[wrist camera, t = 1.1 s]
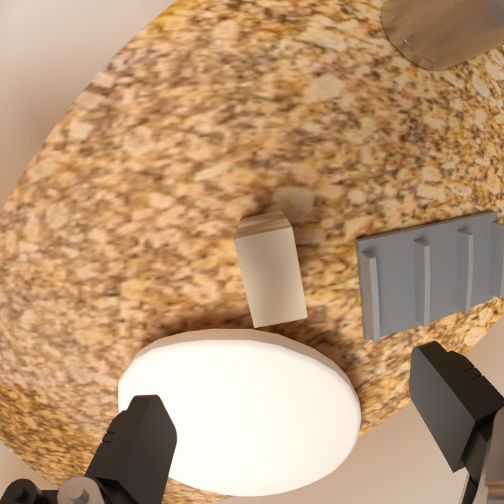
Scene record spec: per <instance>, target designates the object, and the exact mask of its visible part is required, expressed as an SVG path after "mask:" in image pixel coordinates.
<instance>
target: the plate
mask: <svg viewBox="0 0 504 504" xmlns="http://www.w3.org/2000/svg"><path fill="white" fill-rule="evenodd" d="M155 394H156V395H158V396H159V397H160V398H161V400H162V402H163V404H164V406H165V408H166V410H167V412H168V414H169V416H170V418H171V420H172V422H173V424H174V426H175V428H176V431H177V445H176V449H175V452H174V456H173V460H172V464H171V467H170V471H169V475H168V476H169V477H170V478H172V479H174V480H177V481H179V482H181V483H184V484H186V485H189V486H191V487H194V488H198V489H202V490H206V491H210V492H214V493H219V494H225V495H234V496H263V495H271V494H277V493H283V492H287V491H290V490H293V489H297V488H300V487H303V486H305V485H308V484H310V483H312V482H315V481H317V480H319V479H321V478H322V477H324V476H326V475H327V474H329V473H331V472H333V471H334V470H335V469H336V468H337V467H338V466H339V465H340V464H341V463H342V462H343V461H344V460H345V459H346V457H348V455H349V454H350V453H351V450H352V449H353V447H354V446H355V444H356V441H357V437H358V433H359V428H360V424H361V409H360V401H359V399H358V396H357V394H356V392H355V390H354V388H353V386H352V384H351V382H350V380H349V378H348V376H347V375H346V374H345V373H344V372H343V371H342V370H341V369H340V368H339V367H338V366H337V365H336V363H335V362H333V361H332V360H331V359H329V358H328V357H326V356H324V355H323V354H321V353H320V352H318V351H317V350H315V349H313V348H312V347H310V346H307V345H305V344H302V343H299V342H297V341H294V340H292V339H289V338H287V337H284V336H282V335H279V334H275V333H270V332H264V331H259V330H254V329H206V330H198V331H188V332H184V333H180V334H176V335H172V336H168V337H164V338H160V339H158V340H155V341H154V342H152V343H151V344H149V345H147V346H146V347H144V348H143V349H141V350H139V351H138V352H137V354H136V355H135V357H134V358H133V359H132V361H131V362H130V364H129V365H128V366H127V368H126V369H125V371H124V372H123V374H122V375H121V376H120V379H119V413H120V412H121V411H122V410H127V408H128V406H129V404H130V402H131V400H132V398H133V397H134V396H135V395H155Z"/></svg>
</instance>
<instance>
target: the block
mask: <svg viewBox="0 0 504 504" xmlns="http://www.w3.org/2000/svg"><path fill="white" fill-rule="evenodd" d="M234 243H235V248H236V252H237V256H238V261H239V265H240V269H241V274H242V278H243V282H244V287H245V291H246V295H247V299H248V304H249V308H250V312H251V316H252V321H253V325H254V328H257V327H263V326H268V325H273V324H279V323H284V322H289V321H294V320H299V319H304V318H307V311H306V305H305V299H304V292H303V286H302V280H301V274H300V268H299V262H298V257H297V251H296V245H295V240H294V234H293V229H292V226H291V224H290V223H289V221H288V220H287V218H286V217H285V215H284V214H283V212H282V210H281V211H276V212H271V213H266V214H261V215H256V216H251V217H246V218H241V219H240V222H239V224H238V227H237V230H236V233H235V236H234Z"/></svg>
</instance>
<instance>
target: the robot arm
mask: <svg viewBox="0 0 504 504" xmlns="http://www.w3.org/2000/svg"><path fill="white" fill-rule="evenodd" d="M381 21H382V25H383V28H384V30H385V32H386V34H387V36H388V38H389V39H390V41H391V42H392V44H393V45H394V46H395V47H396V48H397V50H398V51H399V52H400V53H401V54H402V55H404V56H405V57H406V58H407V59H408V60H410V61H412V62H413V63H415V64H416V65H418V66H421V67H423V68H425V69H429V70H433V71H441V70H445V69H448V68H450V67H452V66H454V65H457V64H459V63H461V62H463V61H466V60H468V59H471V58H473V57H475V56H477V55H480V54H482V53H485V52H487V51H489V50H492V49H494V48H497V47H499V46H502V45H504V0H386V1H385V3H384V5H383V6H382V10H381ZM409 391H410V396H411V399H412V401H413V403H414V405H415V407H416V408H417V410H418V411H419V413H420V414H421V417H422V418H423V420H424V422H425V423H426V425H427V427H428V429H429V430H430V432H431V434H432V435H433V437H434V439H435V441H436V443H437V444H438V446H439V448H440V450H441V451H442V453H443V455H444V457H445V459H446V460H447V462H448V464H449V466H450V468H451V470H452V471H453V473H454V472H456V471H458V470H460V469H462V468H464V467H466V469H467V471H468V472H469V473H468V475H467V477H466V481H465V484H464V488H463V492H462V495H461V498H460V502H459V504H504V397H503V396H502V395H501V394H500V393H499V392H498V391H497V390H496V389H495V387H494V386H493V385H492V384H491V383H490V382H489V381H488V380H487V379H486V378H485V377H484V376H482V375H481V373H480V371H479V370H478V369H477V368H474V365H473V364H472V363H471V362H470V361H469V360H468V359H467V358H466V357H465V356H463V355H461V354H459V353H457V352H454V351H449V352H447V351H446V350H445V349H444V348H443V347H442V346H441V345H440V344H439V343H438V342H437V341H432V342H429V343H426V344H423V345H421V346H418V347H415V348H413V350H412V356H411V369H410V380H409ZM176 445H177V431H176V428H175V426H174V424H173V422H172V420H171V418H170V416H169V414H168V412H167V410H166V408H165V406H164V404H163V402H162V400H161V398H160V397H159V396H158V395H156V394H155V395H135V396H134V397H133V398H132V400H131V402H130V404H129V406H128V408H127V410H122V411H121V412H120V413H119V414H118V415H117V416H116V417H115V418H114V419H113V420H112V422H111V424H110V426H109V428H108V430H107V434H105V435H104V437H103V439H102V443H100V445H99V447H98V449H97V451H96V453H95V455H94V457H93V459H92V461H91V463H90V465H89V467H88V469H87V471H86V473H85V475H84V477H75V478H72V479H70V480H68V481H67V482H65V483H64V484H63V485H62V486H61V488H60V490H40V489H39V488H38V487H37V486H36V485H35V484H34V483H33V482H32V481H30V480H28V479H18V480H16V481H14V482H12V483H11V484H10V485H9V486H8V487H7V489H6V491H5V493H4V494H3V496H2V498H1V500H0V504H161V502H162V498H163V494H164V490H165V487H166V483H167V479H168V475H169V471H170V467H171V464H172V460H173V456H174V452H175V449H176Z"/></svg>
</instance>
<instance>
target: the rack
mask: <svg viewBox="0 0 504 504" xmlns="http://www.w3.org/2000/svg"><path fill="white" fill-rule="evenodd" d="M355 244H356V252H357V261H358V271H359V281H360V293H361V306H362V321H363V336H364V338H365V339H366V341H367V340H370V339H372V340H373V341H374V342H376V341H380V337H381V336H385V335H389V334H392V333H396V332H399V331H402V330H406V329H409V328H412V327H415V326H419V325H422V326H423V327H426V326H429V322H431V321H434V320H437V319H440V318H443V317H446V316H449V315H451V314H454V313H457V312H460V311H464V312H465V313H466V312H469V311H470V308H471V307H473V306H476V305H478V304H481V303H484V302H486V301H489V300H491V299H493V295H494V296H496V297H497V298H499V299H501V298H503V295H504V224H502V223H498V222H497V219H496V212H493V211H487V212H483V213H478V214H473V215H469V216H464V217H459V218H455V219H450V220H445V221H440V222H435V223H431V224H426V225H421V226H416V227H412V228H407V229H402V230H397V231H392V232H387V233H382V234H378V235H373V236H368V237H363V238H358V239H355Z"/></svg>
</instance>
